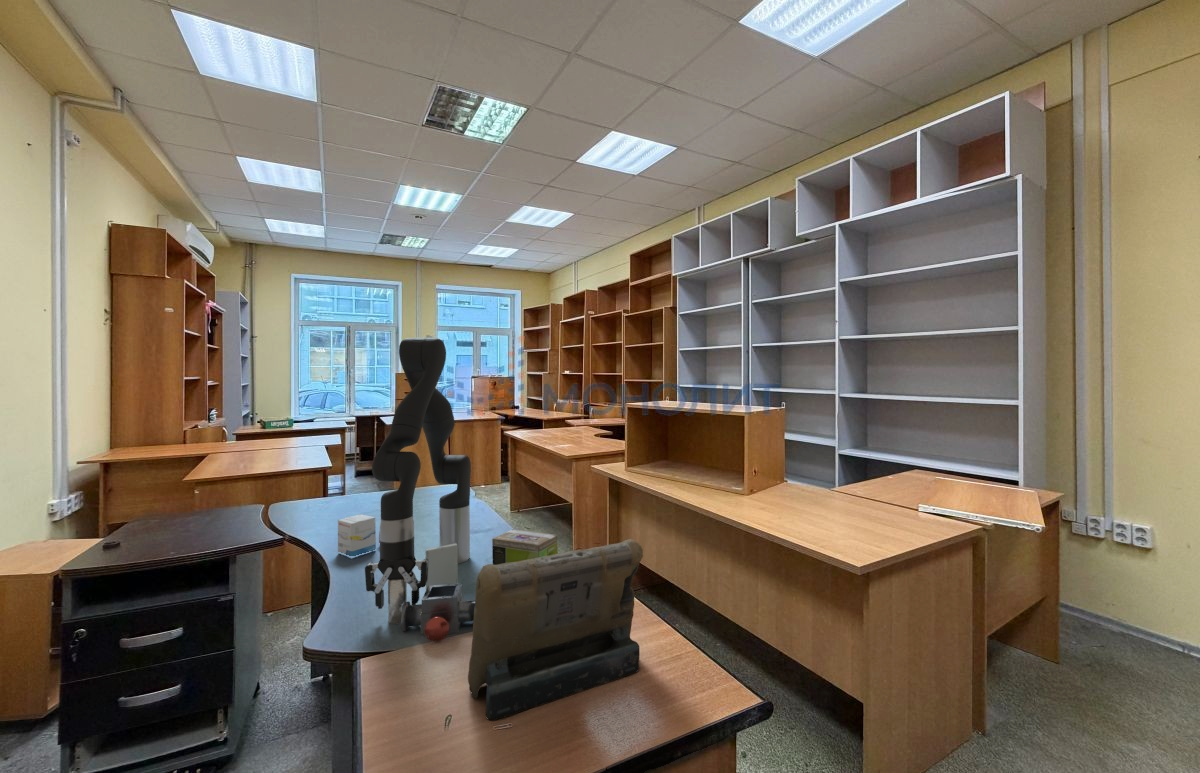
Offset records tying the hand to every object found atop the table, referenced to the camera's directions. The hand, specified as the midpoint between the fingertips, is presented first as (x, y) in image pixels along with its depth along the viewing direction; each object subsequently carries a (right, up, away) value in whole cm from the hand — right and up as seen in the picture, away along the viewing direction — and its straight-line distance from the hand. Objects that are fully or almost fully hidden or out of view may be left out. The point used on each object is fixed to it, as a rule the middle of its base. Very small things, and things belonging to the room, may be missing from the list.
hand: (397, 605), depth 112 cm
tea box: (+28, -3, +16) cm, 32 cm away
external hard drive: (+6, -3, +14) cm, 16 cm away
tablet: (+40, -3, -23) cm, 47 cm away
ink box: (-33, -4, +45) cm, 56 cm away
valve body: (+12, -3, -5) cm, 13 cm away
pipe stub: (0, -3, 0) cm, 3 cm away
